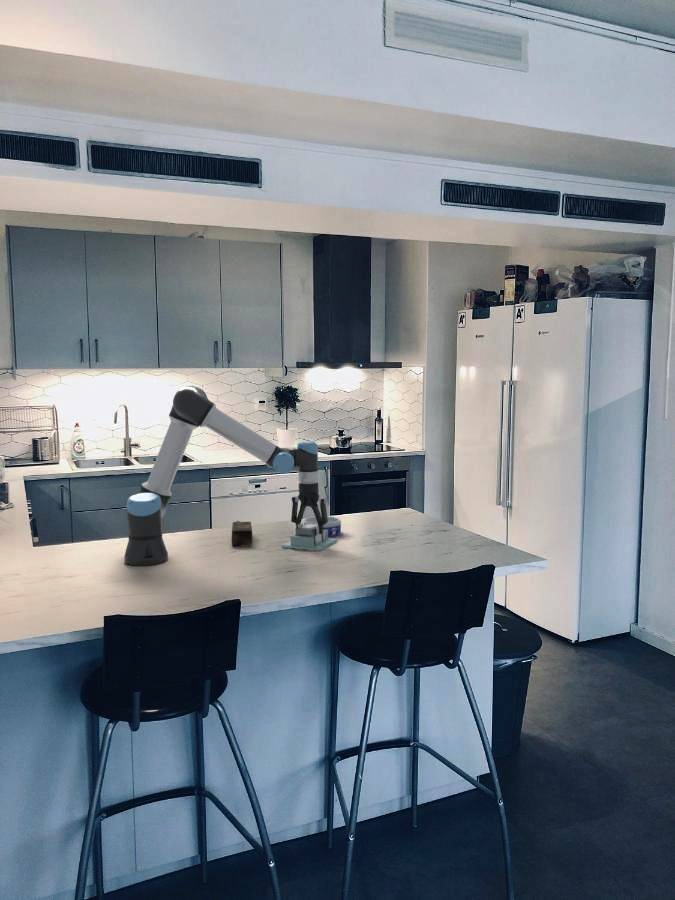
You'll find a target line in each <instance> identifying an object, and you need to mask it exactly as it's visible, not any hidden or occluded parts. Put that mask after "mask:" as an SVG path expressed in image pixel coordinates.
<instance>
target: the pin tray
mask: <svg viewBox="0 0 675 900" xmlns="http://www.w3.org/2000/svg"><path fill="white" fill-rule="evenodd" d="M336 542H338V538H332V537H328V530H323V533H322V541H321V542H319V543H318V536H315V544H314V537H306V536H296V533H292V535H290V540H289V541H287V542H285V543H282V544H281V548H282V547H283V548H282V549H291V548H295V550H302V549H307V550H306V551H313V550H316V551H315V552H321V551H322V550H325V549H326V547H327V548H328V547H330V546H331V545H333V544H335V543H336Z"/></svg>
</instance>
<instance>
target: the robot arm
mask: <svg viewBox="0 0 675 900" xmlns="http://www.w3.org/2000/svg"><path fill="white" fill-rule="evenodd" d="M168 417H169V420H170V423H169V426H168V428H167V431H166V433H165V436H164V439H163V441H162V443H161V446H160V448H159V452H158V453H157V456H156V459H155V461H154V463H153V466H152V469H151V471H150V474H149V476H148V479H147V480H146V481H144V482H142V483H141V485H140V488H139V491H138V493H136V494H133V495H131V496H129V497H128V498H127V500H126V512H127V513H126V514H127V515H126V516H127V531H128V532H127V533H128V534H127V535H128V542H127V545H126V549H125V554H124V557H123V559H124V561H123V562H124V564H125V563H126V565H128V564H129V565H128V566H133V565H136V566H135V567H137V566H138V567H147V566H154V565H159V564H163V563H164V562H167V561H168V560H169V551H168V550H167V547H166V544H165V541H164V539H163V523H162V522H163V521H162V520H163V518H164V516H165V515H166V513H167V510H168V505H169V504H170V501H171V498H172V495H173V493H172V491H171V486H172V484H173V482H174V479H175V477H176V474H177V472H178V470H179V467H180V464H181V462H182V459H183V456H184V454H185V452H186V448H187V446H188V444H189V441H190V439H191V436H192V434H193V431H194V430H195V429H198V428H203V427H206V428H207V429H209V430H210V431H212V432H213V433H216V434H217V435H219V436H220V437H222V438H223V439H225V440H227V441H228V442H230V443H232V444H233V445H235V446H236V447H238V448H240V449H242V450H244V451H245V452H246V453H248V454H250V455H252V456H253V457H254V458H256V459H258V460H260V461H261V462H263V463H265V464H266V467H267V468H268V469H274V470H275V472H277V473H279V474H281V475H282V474H287V473H290V472H291V471H292V470H293V468H298V469H297V471H298V482H299V483H298V496H296V495H294V496H292V497H291V502H292V504H291V505H292V508H291V517H290V518H291V520H290V522H291V523H294V524H295V529H296V528H298V527H301V526H303V525H304V523H302V520H303V516H304V514H305V511H306V508H307V507H309V508H311V509H312V511H313V514H314V517H316V520H317V523H318V525H317V526H316V533H317V536H318V543H319V542H321V534H322V533H323V525H324V524H326V523H328V519H327V516H328V512H327V505H326V503H327V498H326V497H321V496H320V495H319V491H320V490H319V482H318V481H319V458H318V457H319V452H318V443H316V442H315V441H312V440H311V441H310V440H309V441H308V440H307V441H299V442H298V443H297V445H296V447H279V446H278V445H276V444H275V443H273V442H271V441H270V440H268V439H267V438H265V437H264V436H262V435H261V434H259V433H257V432H255V431H254V430H252V429H250V428H249V427H248V426H246V425H244V424H243V423H241V422H240V421H238V420H237V419H235V418H233V417H232V416H230V415H228V414H227V413H225V412H224V411H222V410H221V409H219V408H217V405H216V403H214V402H213V401H212V400H210V399H209V398H208V396H207V394H206V392H205V391H204V389H202V388H200V387H198V386H195V385H188V386H187V385H186V386H184V387H182V388H180V389H179V390H177V392H175V394H174V396H173V398H172V407H171V408H170V412H169V414H168ZM318 501H319V504H320V505H318ZM299 502H300V506H299ZM298 507H299V510H298ZM319 507H320V510H319ZM321 516H322V517H321Z"/></svg>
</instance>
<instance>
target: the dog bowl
mask: <svg viewBox="0 0 675 900" xmlns="http://www.w3.org/2000/svg"><path fill="white" fill-rule="evenodd" d="M321 517H322V516H321ZM327 519H328V523H326V524H324V525H323V530H328V538H334V537H335V538H336V537H338V536H339V535H341V532H342V531H341V530H342V529H341V528H342V519H340V518H339V517H338V516H337V517H336V516H329V515H327ZM302 520H303V521H302V522H303V525H306V524H308V523H309V524H318V523H317V520H316V517H315V516H309V517H307V518H304V519H302Z"/></svg>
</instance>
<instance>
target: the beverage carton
mask: <svg viewBox="0 0 675 900" xmlns="http://www.w3.org/2000/svg"><path fill="white" fill-rule="evenodd" d="M252 544H253V528H252V522H251V521H239V520H236V521H233V522H232V524H231V546H232V547H242V546H241V545H251V546H252Z"/></svg>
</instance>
